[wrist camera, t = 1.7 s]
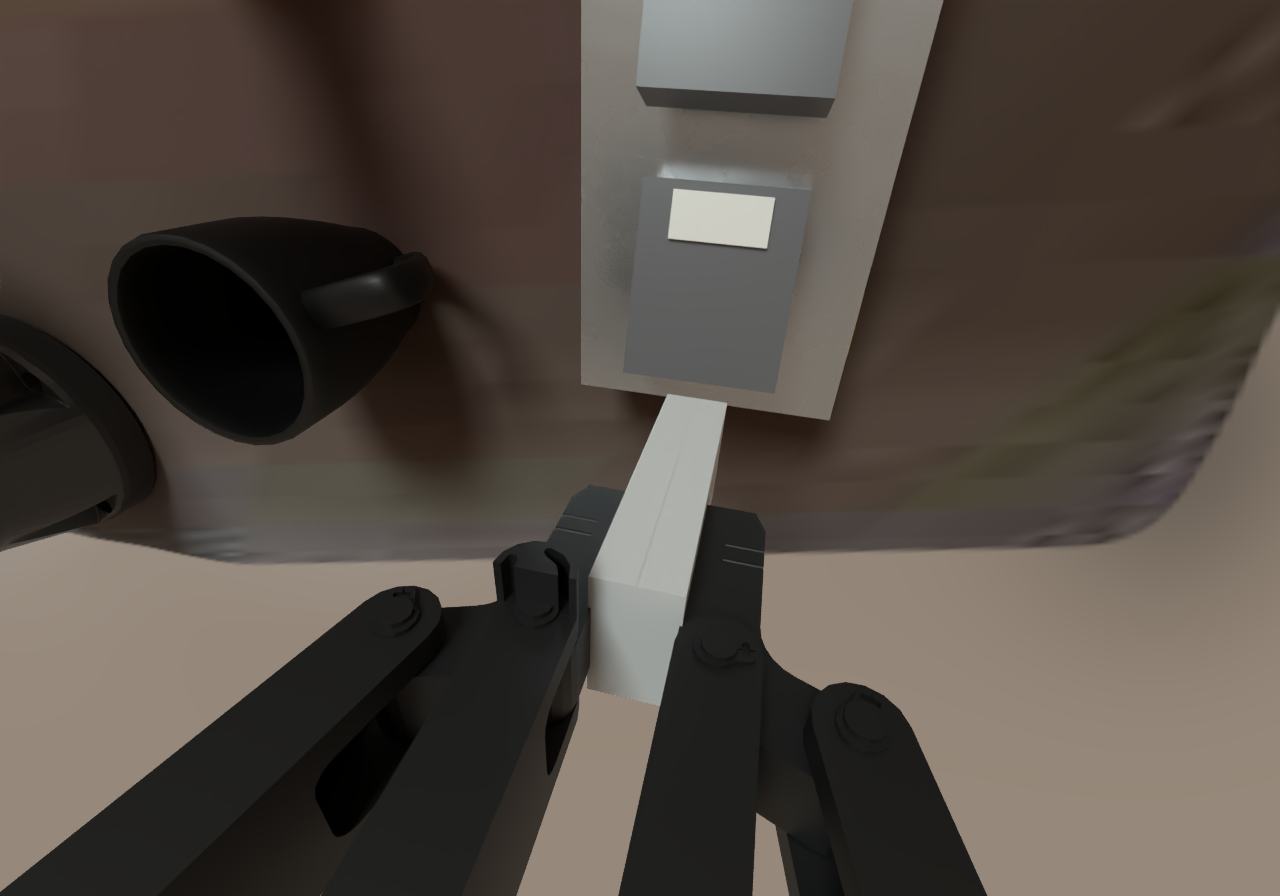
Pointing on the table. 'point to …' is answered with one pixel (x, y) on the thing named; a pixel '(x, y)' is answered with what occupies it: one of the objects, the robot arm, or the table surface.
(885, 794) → the robot arm
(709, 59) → the switch
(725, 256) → the switch
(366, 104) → the table surface
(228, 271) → the mug
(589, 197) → the console
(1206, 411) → the table surface
